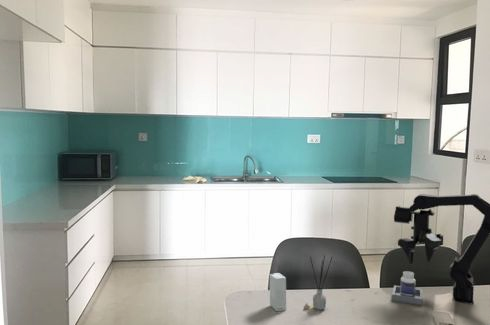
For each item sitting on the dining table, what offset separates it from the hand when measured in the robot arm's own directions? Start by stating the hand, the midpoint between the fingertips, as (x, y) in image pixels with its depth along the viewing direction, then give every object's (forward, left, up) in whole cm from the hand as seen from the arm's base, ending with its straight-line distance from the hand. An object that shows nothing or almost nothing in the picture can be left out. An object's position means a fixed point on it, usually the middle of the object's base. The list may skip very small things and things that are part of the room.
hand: (419, 262), depth 162 cm
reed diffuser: (+33, +36, -12) cm, 50 cm away
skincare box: (+47, +41, -12) cm, 64 cm away
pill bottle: (+4, +10, -12) cm, 16 cm away
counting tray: (+4, +10, -12) cm, 16 cm away
